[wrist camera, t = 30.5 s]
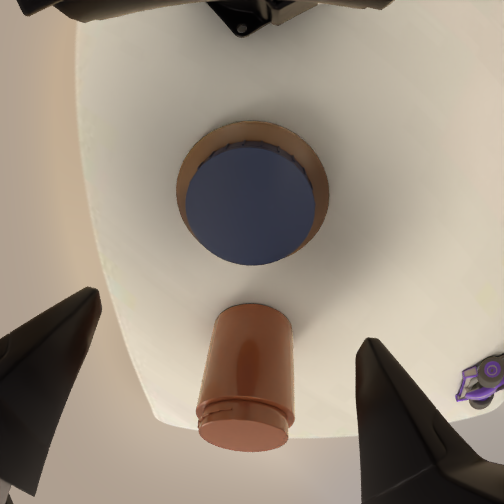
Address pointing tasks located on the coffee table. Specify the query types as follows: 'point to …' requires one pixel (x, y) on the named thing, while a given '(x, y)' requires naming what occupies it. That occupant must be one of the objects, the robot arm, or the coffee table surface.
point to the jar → (248, 380)
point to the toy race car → (483, 382)
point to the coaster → (267, 135)
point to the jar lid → (250, 203)
